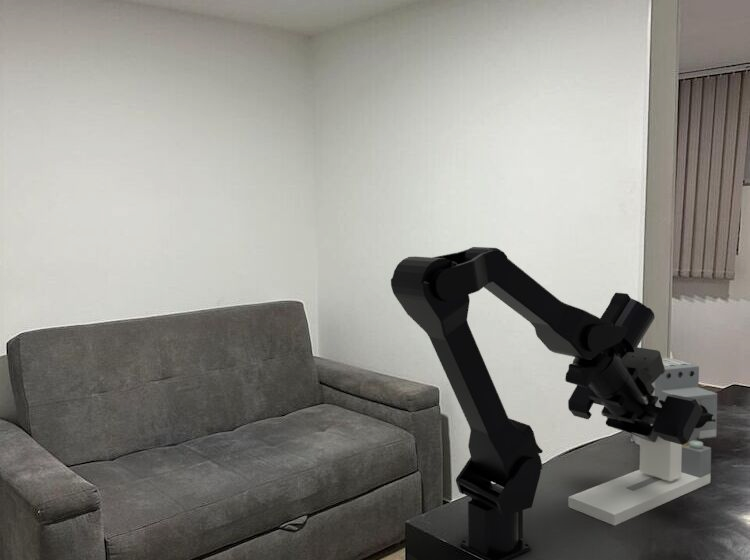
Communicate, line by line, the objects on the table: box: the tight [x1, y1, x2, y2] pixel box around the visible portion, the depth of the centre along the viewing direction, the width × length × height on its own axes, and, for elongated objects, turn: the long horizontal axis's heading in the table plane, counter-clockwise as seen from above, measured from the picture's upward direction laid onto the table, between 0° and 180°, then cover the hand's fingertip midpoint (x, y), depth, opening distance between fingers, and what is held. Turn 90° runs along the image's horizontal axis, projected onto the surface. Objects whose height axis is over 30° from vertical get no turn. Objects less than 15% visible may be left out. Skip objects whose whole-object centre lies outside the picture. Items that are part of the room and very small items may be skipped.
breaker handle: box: [639, 437, 682, 481], centre depth 105 cm, size 3×5×9 cm, turn 36°
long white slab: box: [567, 440, 712, 526], centre depth 102 cm, size 24×8×6 cm, turn 126°
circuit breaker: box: [630, 357, 718, 446], centre depth 120 cm, size 8×14×15 cm, turn 15°
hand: (654, 439), depth 103 cm, fingers closed, pressing on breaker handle
